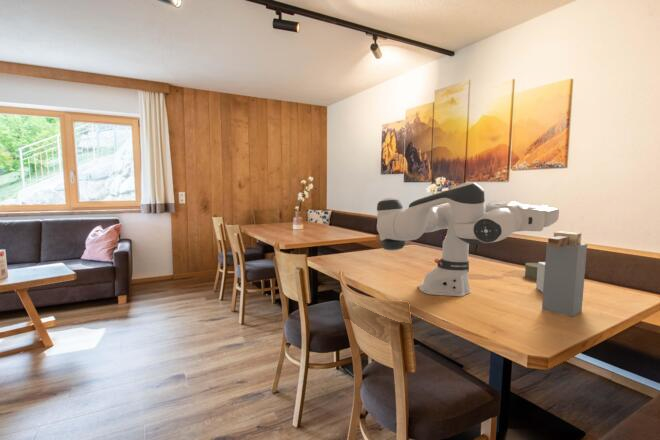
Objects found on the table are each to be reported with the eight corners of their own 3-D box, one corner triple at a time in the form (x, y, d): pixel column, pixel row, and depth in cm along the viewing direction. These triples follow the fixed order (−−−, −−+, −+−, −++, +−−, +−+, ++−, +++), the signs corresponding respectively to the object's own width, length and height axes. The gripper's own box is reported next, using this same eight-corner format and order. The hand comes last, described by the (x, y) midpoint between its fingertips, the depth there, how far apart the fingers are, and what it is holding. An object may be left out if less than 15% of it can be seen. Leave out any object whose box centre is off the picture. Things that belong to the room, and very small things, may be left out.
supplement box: (560, 293, 148) (562, 265, 147) (542, 292, 149) (544, 265, 148) (553, 288, 155) (555, 262, 154) (535, 287, 156) (537, 261, 155)
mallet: (564, 248, 114) (565, 237, 114) (541, 245, 120) (542, 234, 119) (580, 243, 125) (581, 233, 124) (559, 241, 130) (559, 231, 130)
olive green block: (531, 273, 182) (532, 261, 182) (555, 279, 172) (556, 265, 171) (519, 276, 176) (520, 264, 175) (544, 282, 166) (545, 268, 165)
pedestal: (572, 317, 121) (578, 246, 118) (541, 309, 129) (546, 242, 126) (581, 311, 127) (587, 243, 125) (551, 303, 135) (556, 240, 132)
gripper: (477, 220, 111) (497, 210, 119) (547, 232, 95) (564, 220, 104) (478, 202, 109) (498, 193, 117) (549, 211, 94) (566, 200, 102)
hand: (529, 205), depth 110 cm, fingers open, 8 cm apart
